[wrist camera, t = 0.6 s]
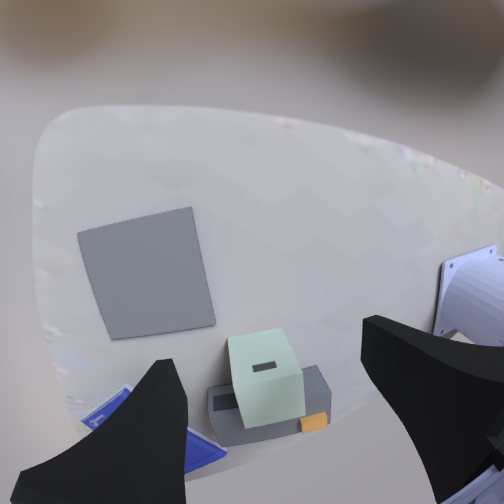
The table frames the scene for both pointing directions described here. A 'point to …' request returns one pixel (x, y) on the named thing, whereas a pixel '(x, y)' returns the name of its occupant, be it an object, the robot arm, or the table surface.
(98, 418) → the blue book
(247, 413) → the block
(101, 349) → the table surface
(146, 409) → the robot arm
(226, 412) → the power strip
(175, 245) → the mat
